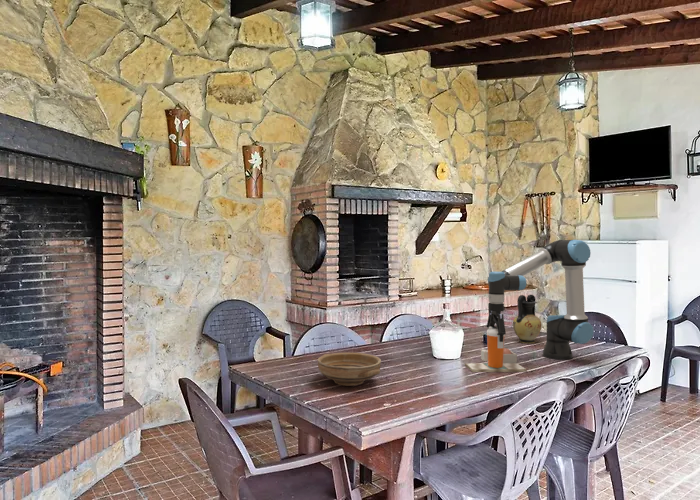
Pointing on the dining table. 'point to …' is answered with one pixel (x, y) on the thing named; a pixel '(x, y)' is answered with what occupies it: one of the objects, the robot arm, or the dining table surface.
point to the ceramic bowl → (349, 367)
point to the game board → (485, 368)
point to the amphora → (526, 320)
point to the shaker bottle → (494, 348)
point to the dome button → (507, 351)
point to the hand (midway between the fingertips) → (495, 345)
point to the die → (484, 355)
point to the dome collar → (510, 358)
